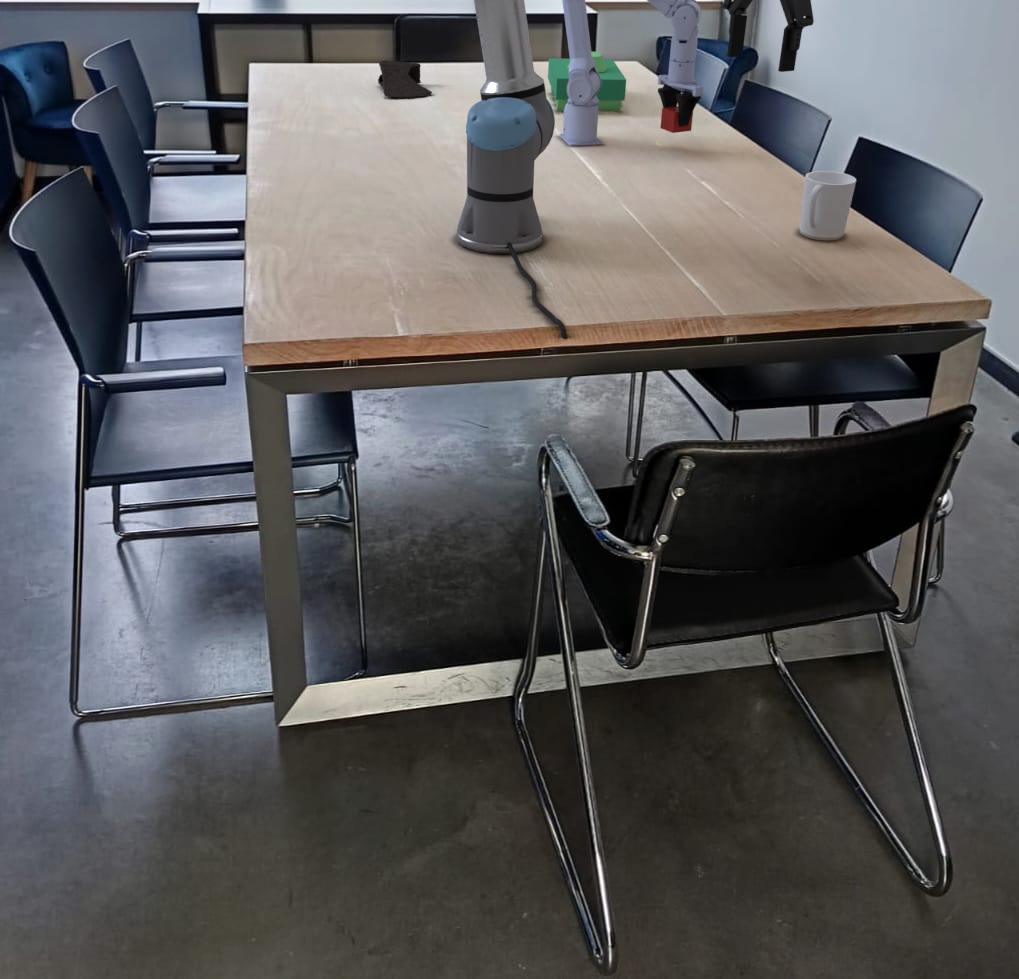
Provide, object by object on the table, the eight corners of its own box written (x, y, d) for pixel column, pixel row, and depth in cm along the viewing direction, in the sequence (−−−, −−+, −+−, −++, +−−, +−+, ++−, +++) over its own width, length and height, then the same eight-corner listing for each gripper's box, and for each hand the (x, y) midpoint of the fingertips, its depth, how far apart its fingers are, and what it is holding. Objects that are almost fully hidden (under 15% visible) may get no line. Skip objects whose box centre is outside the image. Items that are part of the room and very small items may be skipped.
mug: (809, 222, 208) (818, 168, 202) (854, 233, 203) (864, 177, 197) (782, 236, 200) (791, 180, 195) (827, 247, 195) (838, 190, 190)
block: (691, 130, 249) (693, 110, 247) (672, 133, 247) (674, 112, 245) (678, 126, 253) (680, 105, 251) (660, 128, 251) (662, 107, 249)
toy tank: (610, 40, 305) (627, 64, 275) (607, 86, 311) (623, 114, 282) (547, 38, 304) (557, 62, 274) (545, 84, 310) (555, 113, 281)
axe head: (443, 87, 294) (392, 77, 287) (436, 115, 299) (385, 106, 292) (421, 62, 307) (371, 52, 300) (414, 89, 311) (365, 80, 304)
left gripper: (851, -73, 165) (827, 75, 176) (747, -85, 183) (731, 49, 195) (813, -72, 162) (791, 79, 173) (711, -85, 180) (697, 52, 192)
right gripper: (716, 64, 238) (709, 128, 246) (678, 53, 249) (672, 114, 256) (690, 67, 236) (683, 131, 243) (652, 55, 246) (647, 117, 254)
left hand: (759, 63), depth 184 cm, fingers open, 13 cm apart
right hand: (676, 123), depth 249 cm, fingers closed on block, 5 cm apart
